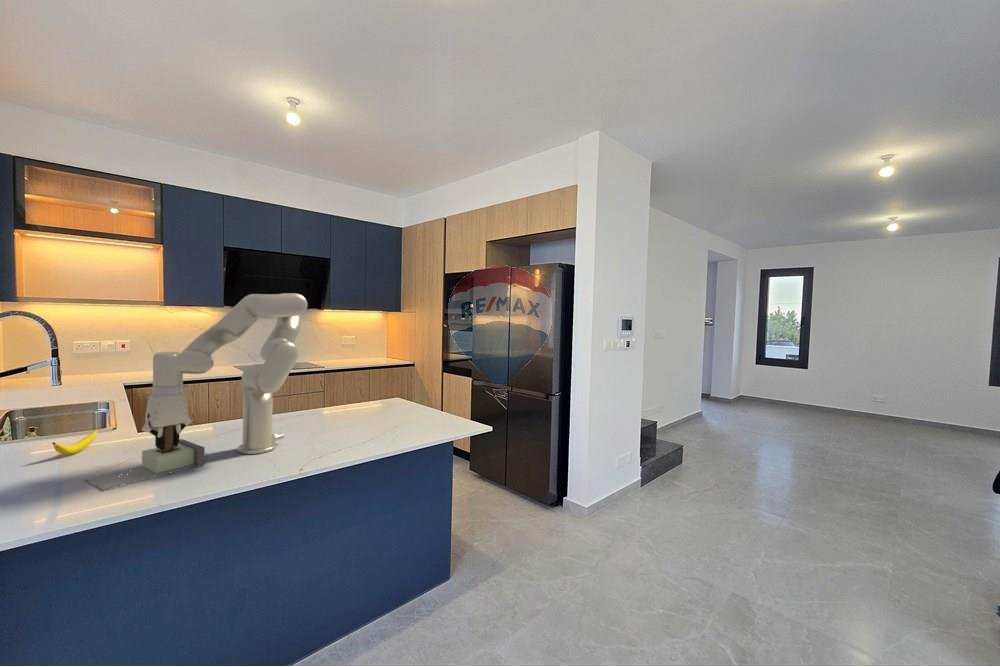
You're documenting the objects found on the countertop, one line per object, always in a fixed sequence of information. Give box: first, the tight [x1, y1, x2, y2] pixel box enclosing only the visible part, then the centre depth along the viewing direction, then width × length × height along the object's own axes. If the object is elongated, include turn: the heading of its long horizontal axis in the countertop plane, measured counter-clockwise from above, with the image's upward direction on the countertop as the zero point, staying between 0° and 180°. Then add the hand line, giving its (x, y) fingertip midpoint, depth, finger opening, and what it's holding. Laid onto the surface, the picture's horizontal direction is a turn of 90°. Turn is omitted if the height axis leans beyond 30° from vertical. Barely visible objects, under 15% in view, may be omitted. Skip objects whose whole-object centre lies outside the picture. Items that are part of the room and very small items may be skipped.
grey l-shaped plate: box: [85, 438, 206, 491], centre depth 130 cm, size 25×15×6 cm, turn 151°
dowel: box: [161, 425, 174, 454], centre depth 134 cm, size 3×3×10 cm
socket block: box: [141, 443, 194, 473], centre depth 135 cm, size 10×10×5 cm
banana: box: [51, 430, 99, 456], centre depth 143 cm, size 3×19×6 cm, turn 11°
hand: (167, 446), depth 134 cm, fingers open, 3 cm apart
